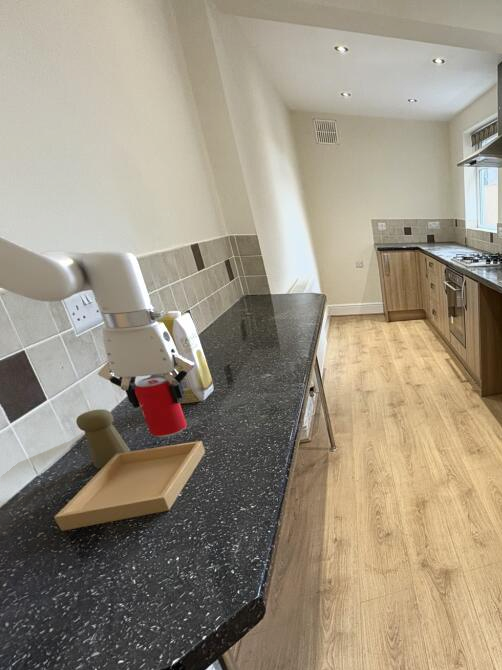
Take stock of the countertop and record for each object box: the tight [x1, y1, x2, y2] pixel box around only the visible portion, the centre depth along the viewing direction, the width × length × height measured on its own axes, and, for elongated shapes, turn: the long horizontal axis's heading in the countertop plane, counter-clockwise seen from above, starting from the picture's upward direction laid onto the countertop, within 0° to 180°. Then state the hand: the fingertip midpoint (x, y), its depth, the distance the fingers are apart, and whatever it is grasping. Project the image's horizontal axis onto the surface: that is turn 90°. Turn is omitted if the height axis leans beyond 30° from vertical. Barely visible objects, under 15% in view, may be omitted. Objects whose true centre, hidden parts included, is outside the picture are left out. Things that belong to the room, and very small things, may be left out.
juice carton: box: [157, 310, 215, 405], centre depth 108 cm, size 9×8×24 cm
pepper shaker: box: [75, 408, 131, 469], centre depth 83 cm, size 6×6×11 cm
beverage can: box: [135, 375, 188, 438], centre depth 86 cm, size 6×6×12 cm
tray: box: [53, 440, 206, 532], centre depth 76 cm, size 15×20×3 cm
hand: (159, 402), depth 86 cm, fingers closed on beverage can, 6 cm apart
